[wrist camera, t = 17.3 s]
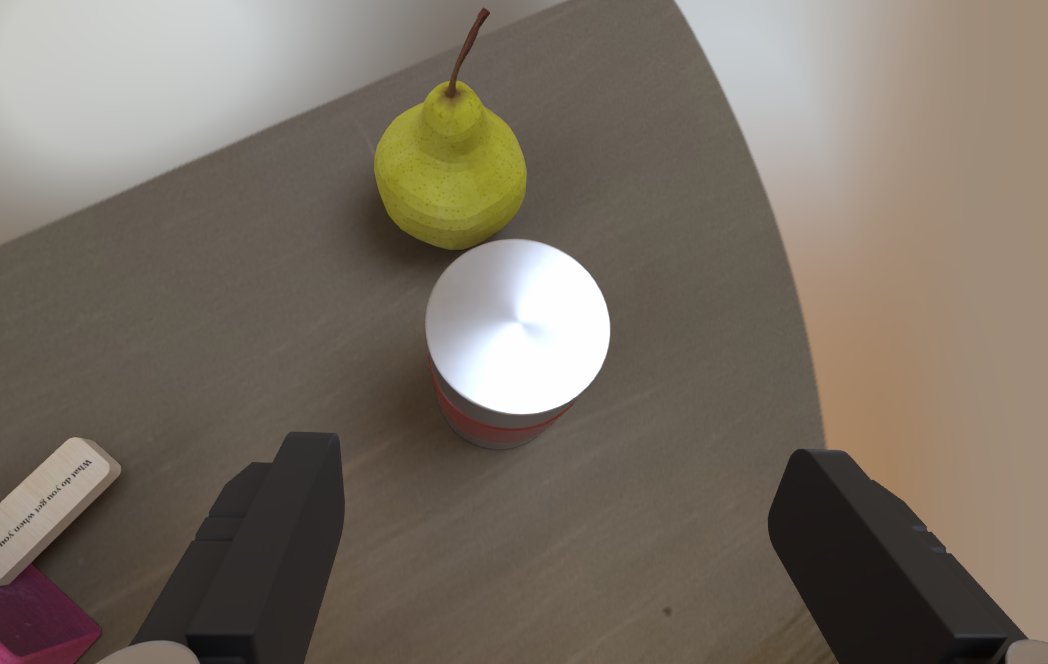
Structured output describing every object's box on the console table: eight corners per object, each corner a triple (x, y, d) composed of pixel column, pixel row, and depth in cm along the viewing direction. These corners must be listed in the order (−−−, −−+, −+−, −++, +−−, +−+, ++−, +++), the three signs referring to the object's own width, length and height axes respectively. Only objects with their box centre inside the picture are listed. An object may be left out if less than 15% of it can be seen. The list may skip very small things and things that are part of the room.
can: (581, 365, 28) (643, 293, 19) (523, 474, 26) (558, 454, 17) (477, 306, 28) (485, 205, 19) (411, 410, 27) (384, 354, 17)
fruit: (429, 295, 28) (408, 152, 17) (361, 193, 30) (300, -3, 18) (540, 232, 30) (588, 65, 19) (471, 138, 31) (478, -72, 20)
